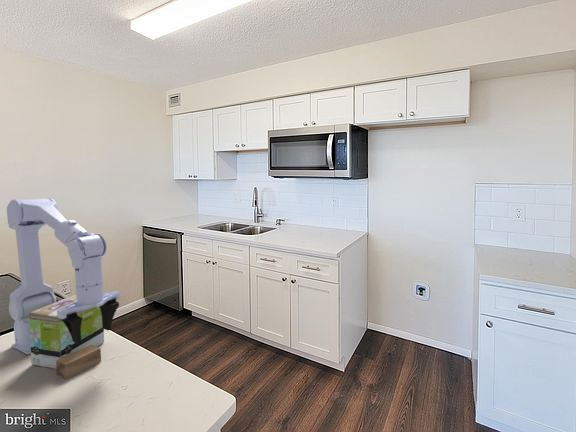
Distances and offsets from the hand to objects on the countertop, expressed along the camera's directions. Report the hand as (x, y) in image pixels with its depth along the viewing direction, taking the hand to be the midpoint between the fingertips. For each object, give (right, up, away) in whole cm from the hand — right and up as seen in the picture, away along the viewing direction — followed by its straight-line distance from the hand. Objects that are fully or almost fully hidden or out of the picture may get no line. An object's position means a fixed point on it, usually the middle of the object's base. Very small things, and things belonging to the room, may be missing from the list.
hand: (92, 335), depth 82 cm
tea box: (-12, -9, +10) cm, 18 cm away
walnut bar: (-5, -10, +3) cm, 12 cm away
